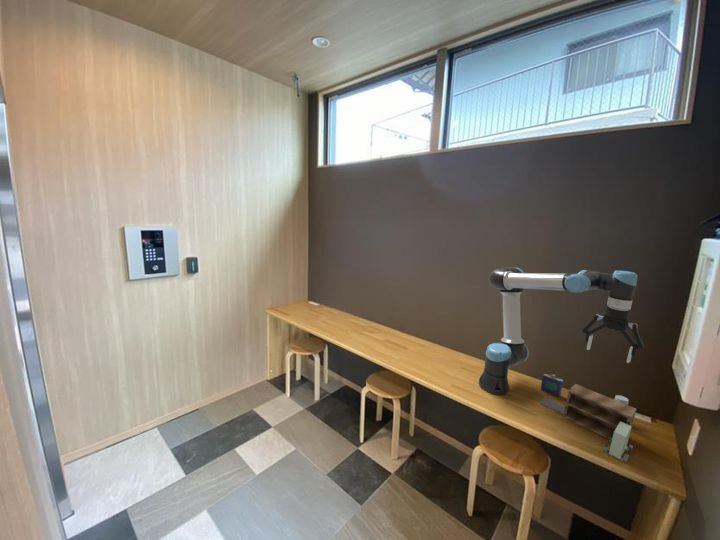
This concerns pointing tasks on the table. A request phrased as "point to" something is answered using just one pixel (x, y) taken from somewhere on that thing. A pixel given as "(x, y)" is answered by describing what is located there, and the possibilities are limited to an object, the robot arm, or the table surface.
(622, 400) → the beverage can
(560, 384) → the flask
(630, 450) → the hinge clips
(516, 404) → the table surface
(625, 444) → the pale green square block
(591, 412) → the cabinet
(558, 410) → the smartphone
